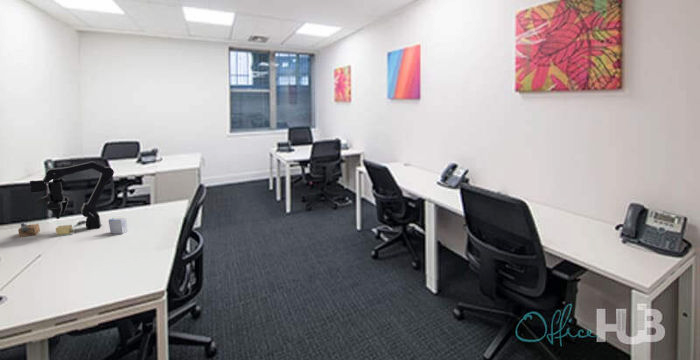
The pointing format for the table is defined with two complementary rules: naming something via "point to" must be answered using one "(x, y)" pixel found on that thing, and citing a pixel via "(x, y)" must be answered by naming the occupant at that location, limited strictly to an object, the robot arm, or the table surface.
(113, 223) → the medicine box
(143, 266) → the table surface
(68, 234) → the glass plate
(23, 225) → the lever
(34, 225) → the plane block
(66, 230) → the brass block
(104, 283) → the table surface
